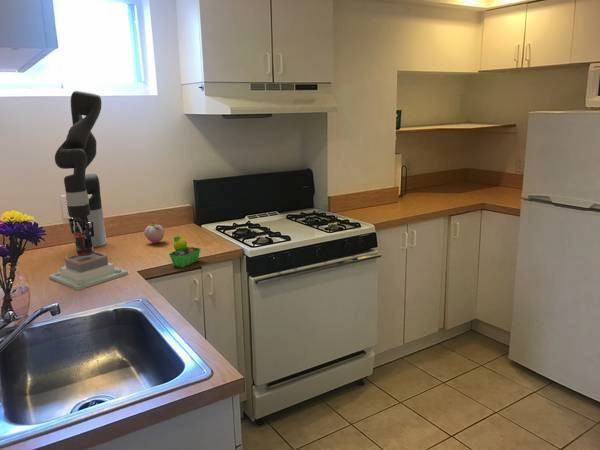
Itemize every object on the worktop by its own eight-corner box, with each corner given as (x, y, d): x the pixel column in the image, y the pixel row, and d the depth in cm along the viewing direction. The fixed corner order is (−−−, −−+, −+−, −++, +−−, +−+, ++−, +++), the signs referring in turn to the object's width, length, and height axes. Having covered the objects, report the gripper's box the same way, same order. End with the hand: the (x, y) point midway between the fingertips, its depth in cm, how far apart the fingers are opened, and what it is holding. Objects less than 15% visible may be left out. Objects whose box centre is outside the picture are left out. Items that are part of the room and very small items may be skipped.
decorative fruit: (169, 242, 230) (167, 221, 228) (156, 246, 224) (153, 225, 221) (156, 239, 235) (153, 219, 233) (142, 244, 229) (140, 223, 226)
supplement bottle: (97, 252, 188) (93, 223, 185) (86, 257, 183) (81, 227, 180) (85, 251, 190) (80, 223, 187) (73, 255, 184) (69, 227, 182)
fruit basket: (182, 268, 193) (179, 241, 190) (166, 265, 198) (163, 238, 195) (202, 260, 202) (200, 234, 199) (187, 257, 207) (184, 231, 204)
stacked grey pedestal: (49, 278, 187) (45, 258, 185) (98, 263, 202) (95, 245, 200) (78, 290, 174) (74, 269, 172) (128, 273, 189) (125, 254, 187)
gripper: (58, 202, 183) (65, 246, 187) (78, 207, 174) (84, 252, 178) (77, 199, 188) (84, 241, 193) (97, 203, 180) (103, 247, 184)
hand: (84, 246), depth 185 cm, fingers closed on supplement bottle, 6 cm apart
